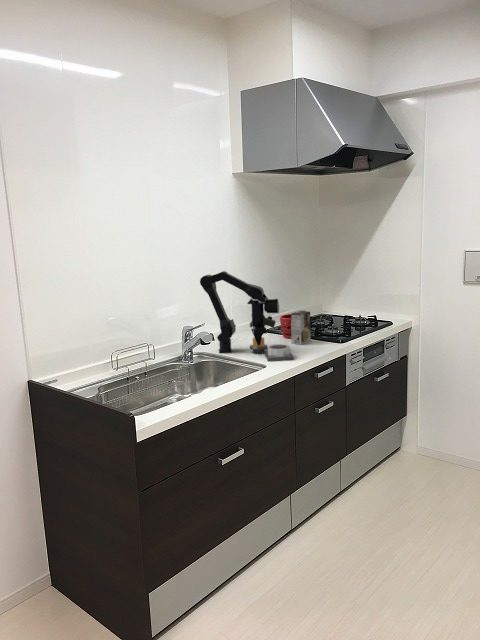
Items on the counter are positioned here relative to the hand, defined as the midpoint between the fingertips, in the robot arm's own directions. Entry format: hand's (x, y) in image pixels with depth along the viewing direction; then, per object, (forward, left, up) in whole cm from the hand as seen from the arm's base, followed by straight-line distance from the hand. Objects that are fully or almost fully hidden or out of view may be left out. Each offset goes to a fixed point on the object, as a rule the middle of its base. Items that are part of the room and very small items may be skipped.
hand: (258, 344), depth 264 cm
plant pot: (-29, +22, -4) cm, 37 cm away
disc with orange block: (0, 0, -4) cm, 4 cm away
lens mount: (+12, +8, -4) cm, 15 cm away
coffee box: (-15, +24, -4) cm, 29 cm away
